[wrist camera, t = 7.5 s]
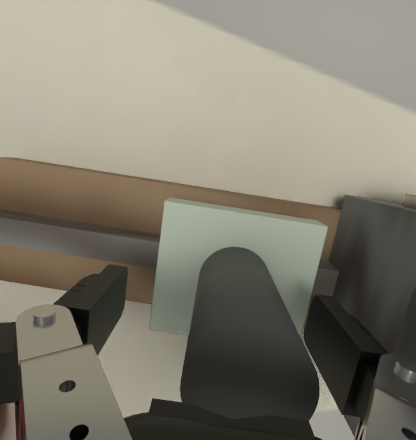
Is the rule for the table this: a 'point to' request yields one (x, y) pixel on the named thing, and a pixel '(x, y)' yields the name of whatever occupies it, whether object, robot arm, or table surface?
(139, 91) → the table surface
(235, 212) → the mint plate with knob
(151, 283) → the rail
